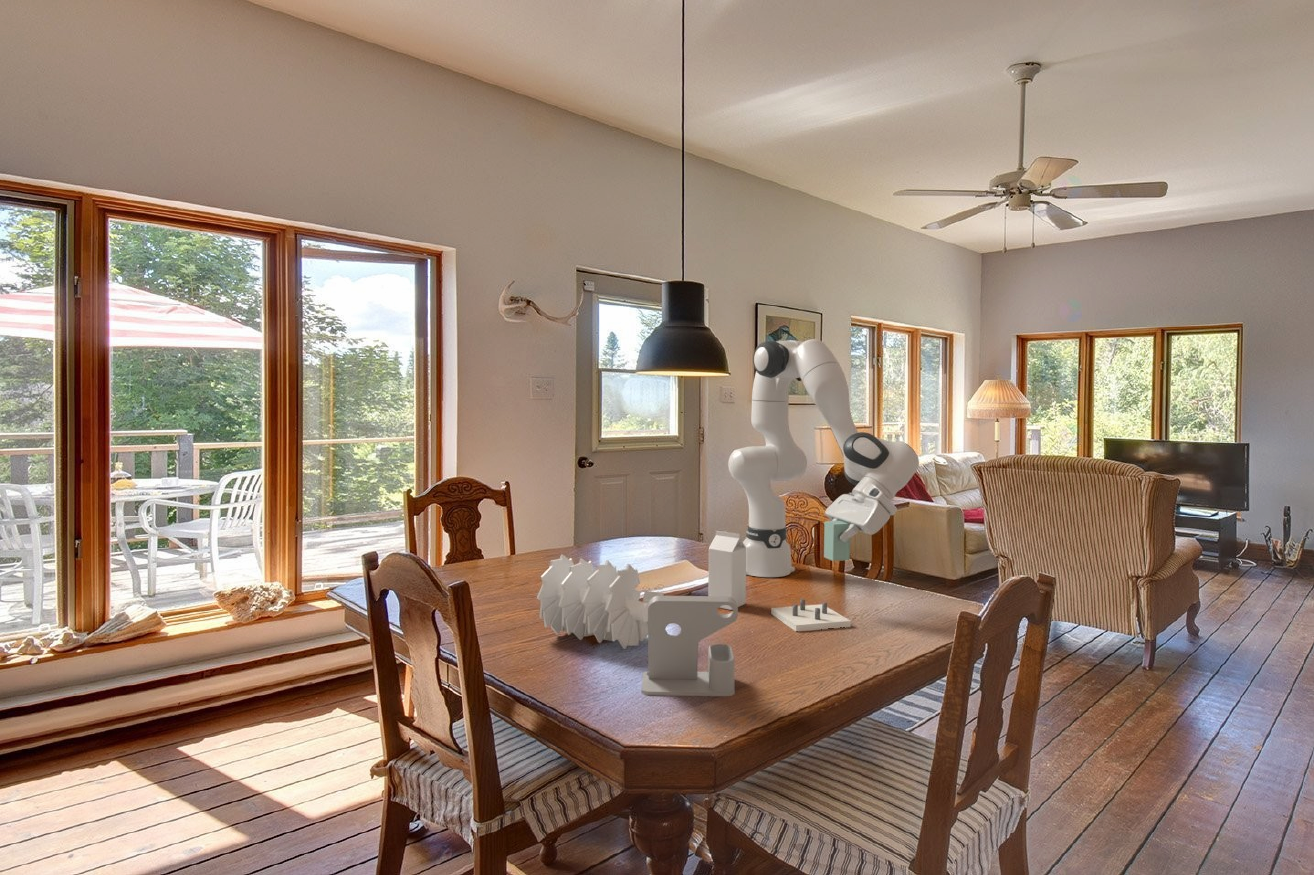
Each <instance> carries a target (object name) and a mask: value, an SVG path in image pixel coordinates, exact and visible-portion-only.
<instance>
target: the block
mask: <svg viewBox="0 0 1314 875" xmlns="http://www.w3.org/2000/svg"><path fill="white" fill-rule="evenodd" d="M849 526H850V523H847V522H844V521H831V520H828V521H827V520H826V521H824V528H823V529H824V532H823V533H824V536H823V539H824V540H823V558H825V559H827V560H828V561H832V562H839V561H841V562H842V561H850V554H851V551H850V548H851V547H850V546H851V544H850V543H851V537H850V538H849V539H848V540H847V541H846V542H842V541H840V540H839V539H838V535H840V533H841V532H844V531H846V530H847V529H848V528H849Z"/></svg>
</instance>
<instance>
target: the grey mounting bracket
mask: <svg viewBox="0 0 1314 875" xmlns="http://www.w3.org/2000/svg"><path fill="white" fill-rule="evenodd" d="M722 605H728V606H730V607H732V609H733V610H732V611H731V612H730V613H727V614H726V613H725V614H722V613H719V612H718V610H719V609H720V608H719V607H720V606H722ZM738 614H739V607H737V603H736V601H735V600H734V599H733V598H731V597H726V596H708V595H663V596H655V597H653V598H651V599H650V601H649V603H648V636H647V641H648V642H647V644H648V645H647V648H648V650H647V651H648V653H647V654H648V656H647V659H648V662H647V663H648V668H647V671H644V672H643V673H642V680H641V694H642V695H643V696H676V697H678V696H681V697H682V696H683V697H685V696H687V697H732V695H733V696H734V695H735V693H736V692H735V690H736V688H735V665H736V664H735V662H736V661H735V660H736V659H735V655H734V650H733V648H732V646H731V645H728V644H726V643H725V644H724V643H716V644H711V645H709V646H708V649H707V650H708V654H707V656H708V660H707V663H708V664H707V671H698V670H699V669H698V668H699V666H698V665H699V664H698V662H699V661H698V660H699V659H698V658H699V643H700V642H701V641H702V640H704V639H705V638H707V637H709V636H712V635H713V634H715V633H717V632H718V631H720V630H722V629H724V628H725V627H728V626H730V625H731V624H733V623H734V622H736V621H737V619H738V617H739V615H738ZM670 624H676V625H678V626H679V627H680V631H679V632H678V633H677V634H669V633H668V632H667V630H666V627H667V626H669V625H670Z"/></svg>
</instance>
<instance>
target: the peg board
mask: <svg viewBox="0 0 1314 875" xmlns="http://www.w3.org/2000/svg"><path fill="white" fill-rule="evenodd" d="M799 602H800V603H799V605H798V604H792V606H783V607H781V606H780V607H771V610H770V611H771V613H770V614H771V615H772V616H773V617H775V618H776V619H778V620H779V621H780V622H781V623H783V624H785V625H786V626H787V627H788V628H790V629H792V630H793V631H794V632H796V631H798V632H808V631H809V632H810V631H819V630H821V629H822V630H829V629H828V628H834V629H842V628H843V627H845V628H851V626H852V625H851V622H852V621H851V620H850V619H849V618H846V617H845V616H844V615H841V614H840V613H838V612H836V611H835V610H833V609H831V608H829V607H828V602H826V601H824V602H821V603H820V604H806V599H805V598H800V600H799ZM840 627H842V628H840ZM843 629H844V628H843Z"/></svg>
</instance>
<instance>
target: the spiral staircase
mask: <svg viewBox="0 0 1314 875" xmlns="http://www.w3.org/2000/svg"><path fill="white" fill-rule="evenodd" d="M540 579H541V583H542V584H541V587H540V589H539V591H538V593H537V596H536V599H537V600H539V601H540V606H539V617H538V618H539V619H543V623H544V626H543V627H544V628H548V627H550V628H551V629H552V631H554V633H555V634H556V635H560V633H561V632H566V633H567V635H568V636H569V635H571V634H573V635H574V636H575V637H577V639H578V640H579V641H582V640H583V638H584V637H590V636H595V638H596V641H597V642H598V643H599V644H601V643H602V642H603V641H604V640H605V641H610V642H615V641H618V643H619V644H620V646H621V647H622V649H623V650H626V649H627V647H628V646H629V647H630V646H631V647H633V646H639V644H640V642H643V641H644V640H645V639H646V638H648V603H649V601H650V599H651V598H653V597H655V596H664V593H663V592H659V591H653V590H644V593H643V598H642V601H641V600H640V598H641V594H642V591H640V590H637V587H638V586H639V585H640V584H641V581H640V577H639V571H638V568H634V567H633V566H632V565H631V564H630V563H627V564H626V567H625V568H624V569H619V570H617V566H615V565H613V564H612V563H611V561H609V560H608V559H606V561H605V562H604V564H596V565H595V567H594V565H593V563H592V560H589V561H587V560H585V559H583V558H581V557H580V559H579V561H578V563H576V564H574V561H573V558H568V557H567V556H566V555H564V554H563V553H562V554H560V557H559V558H558V559H553V560H549V567H548V569H547V570H545V571H544V572H543V574H542V575H541V576H540Z"/></svg>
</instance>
